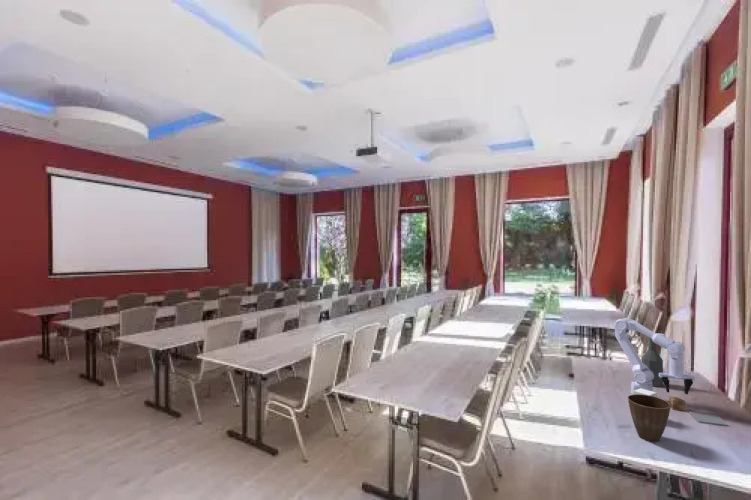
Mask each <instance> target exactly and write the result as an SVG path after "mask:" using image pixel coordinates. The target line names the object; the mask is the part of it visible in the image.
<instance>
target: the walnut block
mask: <svg viewBox="0 0 751 500" xmlns="http://www.w3.org/2000/svg"><path fill="white" fill-rule="evenodd" d="M668 403H669V404H670V405H671V406H670V409H672V410H674V411H680V412H681V411H682V412H685V411H686V401H685V400H684V399H683V398H682V397H677V396H669V401H668Z"/></svg>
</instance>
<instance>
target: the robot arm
mask: <svg viewBox="0 0 751 500" xmlns="http://www.w3.org/2000/svg"><path fill="white" fill-rule="evenodd" d="M613 328H614V336H615V338H616V340H617V342H618V344H619V345H620V347H621V349H622V351H623V353H624V354H625V356H626V357H627V360H628V361H629V363H630V364H631V366H632V368H631V369H632V373H633V378H634V380H635V381H631V382H630V395H633V391H634V390H637V389H640V388H642V389H645V390H649V391H653V389H654V387H653V386H652V380H653V379H654V374H653V372H652V371H651V370H649V369H648V367H647V366H646V365H645V364H643V362H642V358H640V356H639V354H638V352H637V351H636V349H635V347H634V345H633V344H632V342H631V341H630V338H629V337H628V335H629V332H630V331H636V332H638V333H640V334H641V335H645V336H646V337H647V338H652V340H653V342H654V343H655V345H658V346H660V347H661V348H663V349H665V350H666V351H667V353H669V355H668V358H669V359H668V361H669V362H668V363H669V367H668V368H669V369H668V370H669V371H668V372H663V373H659V377H660V378H661V379H662V380H663V386H664V387H665V391H666V393H670V380H669V379H677V380H683V384H684V389H683V390H684V394H685V395H687V396H688V394H689V391H690V389H691V388H692V386H693V384H694V382H695V381H696V377H695V376H694V375H689V374H685V372H684V371H685V370H684V363H685V362H684V352H685V350H686V348H685V345H684V344H683V343H681V341H676V340H674V339H671V338H670V337H667V336H666V334H665V333H661V332H660V333H659V332H658V333H657V332H656V333H655V332H654V331H652V330H650V329H649V328H647V327H645V326H644V325H642V324H641V323H639V322H637V321H636V320H634V319H633V318H630V317H624V318H619V319H617V320H615V322H614V324H613ZM653 392H654V391H653Z"/></svg>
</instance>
